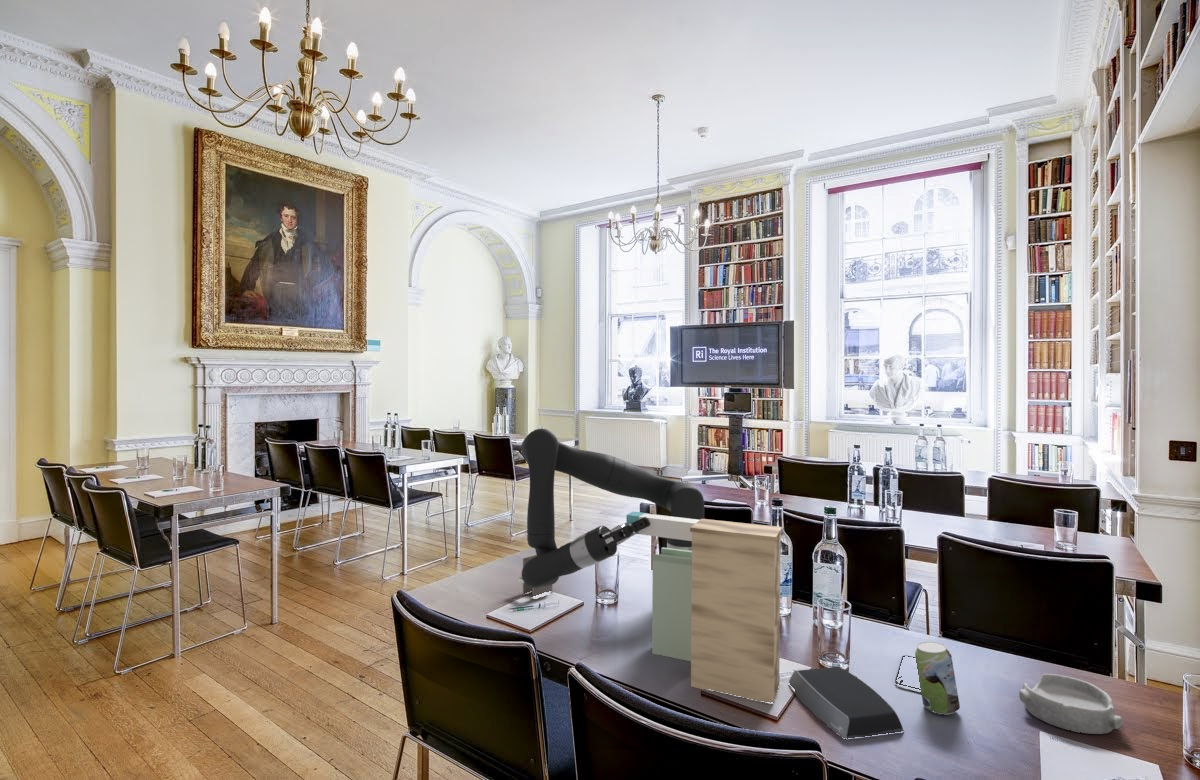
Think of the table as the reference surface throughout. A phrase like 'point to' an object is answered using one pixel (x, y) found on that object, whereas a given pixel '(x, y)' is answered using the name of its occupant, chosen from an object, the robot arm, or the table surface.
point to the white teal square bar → (664, 525)
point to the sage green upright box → (672, 603)
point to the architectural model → (534, 590)
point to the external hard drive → (844, 702)
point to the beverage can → (937, 678)
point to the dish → (1071, 704)
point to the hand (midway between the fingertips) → (651, 518)
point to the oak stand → (736, 608)
